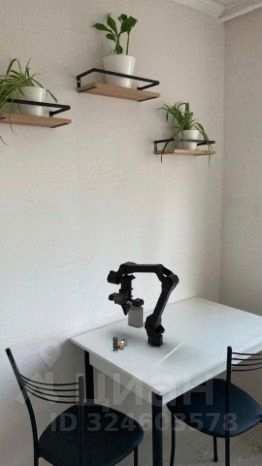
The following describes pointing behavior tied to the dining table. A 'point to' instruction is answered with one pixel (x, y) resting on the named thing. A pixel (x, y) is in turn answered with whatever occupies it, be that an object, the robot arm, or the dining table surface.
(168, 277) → the robot arm
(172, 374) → the dining table surface
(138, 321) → the cup
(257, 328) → the dining table surface
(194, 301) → the dining table surface
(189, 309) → the dining table surface
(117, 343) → the crank
